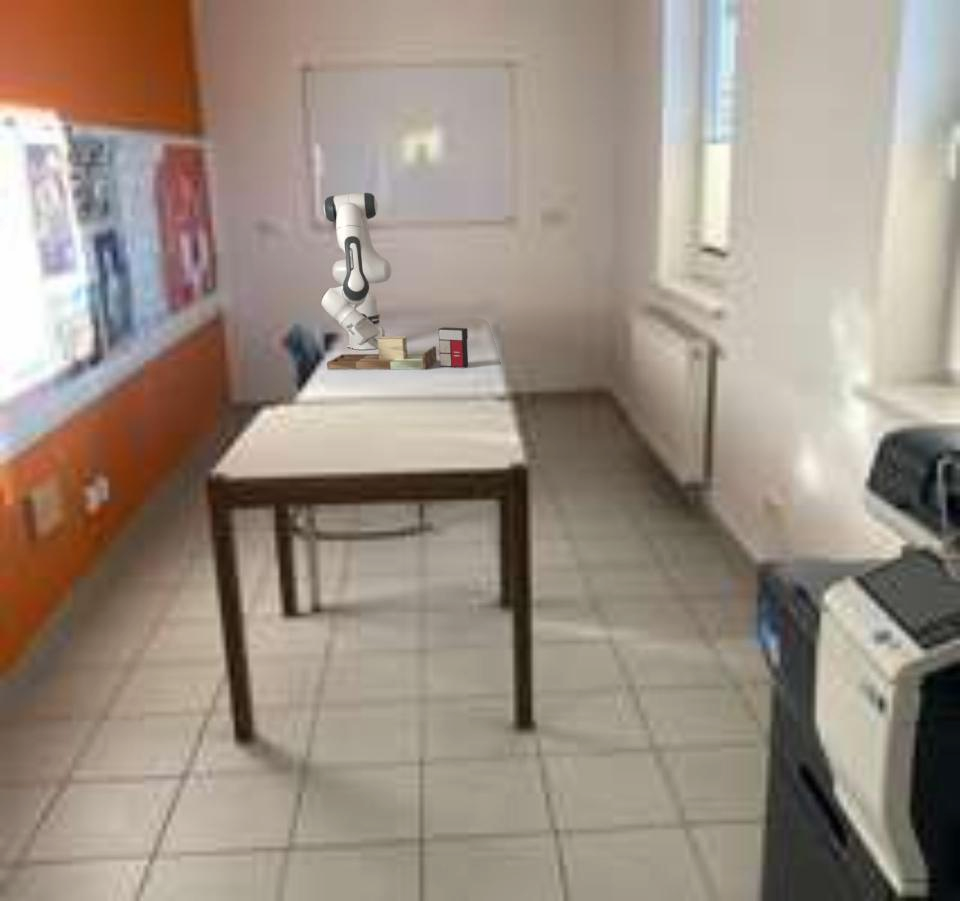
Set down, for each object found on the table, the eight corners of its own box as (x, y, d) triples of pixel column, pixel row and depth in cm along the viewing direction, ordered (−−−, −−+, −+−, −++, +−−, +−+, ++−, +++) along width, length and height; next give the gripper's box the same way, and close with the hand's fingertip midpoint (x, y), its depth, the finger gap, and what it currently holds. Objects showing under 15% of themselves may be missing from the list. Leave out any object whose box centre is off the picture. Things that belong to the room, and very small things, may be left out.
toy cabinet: (439, 367, 388) (437, 328, 384) (444, 365, 391) (442, 327, 387) (463, 368, 383) (462, 329, 379) (469, 366, 386) (467, 328, 382)
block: (383, 356, 398) (382, 336, 396) (407, 356, 396) (406, 336, 393) (379, 359, 392) (377, 339, 390) (403, 359, 390) (402, 339, 388)
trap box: (342, 361, 408) (341, 347, 407) (436, 361, 400) (435, 346, 399) (327, 369, 391) (326, 354, 390) (425, 369, 383) (424, 354, 382)
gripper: (350, 320, 382) (376, 345, 383) (366, 313, 402) (391, 337, 402) (340, 332, 384) (366, 357, 385) (357, 324, 404) (381, 348, 404)
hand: (379, 347), depth 394 cm, fingers closed, pressing on block
